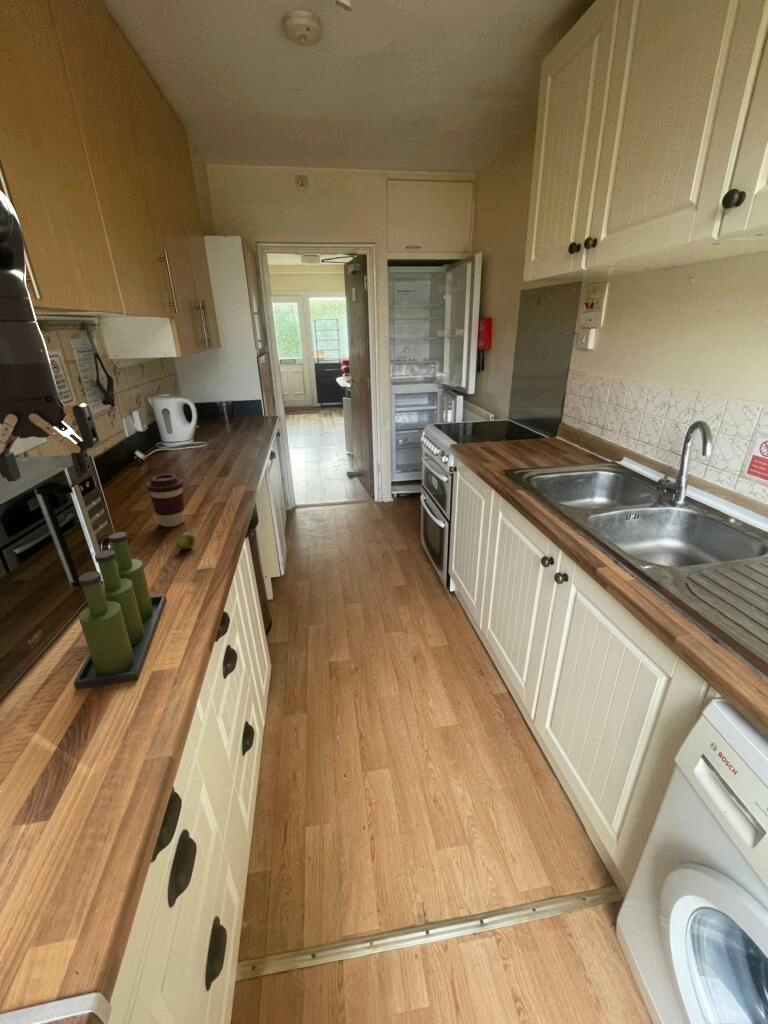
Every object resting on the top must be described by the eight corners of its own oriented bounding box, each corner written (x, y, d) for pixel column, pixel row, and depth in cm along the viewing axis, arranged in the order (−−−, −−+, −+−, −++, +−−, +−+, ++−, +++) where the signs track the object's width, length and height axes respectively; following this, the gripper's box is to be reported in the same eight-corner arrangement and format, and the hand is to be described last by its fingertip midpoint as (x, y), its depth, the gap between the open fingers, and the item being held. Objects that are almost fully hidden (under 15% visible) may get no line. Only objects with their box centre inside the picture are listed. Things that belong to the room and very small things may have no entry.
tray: (138, 682, 75) (136, 673, 74) (76, 692, 72) (73, 682, 71) (167, 602, 96) (165, 594, 95) (119, 608, 94) (117, 600, 93)
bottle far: (115, 618, 89) (92, 538, 82) (141, 603, 94) (121, 526, 87) (134, 627, 87) (112, 545, 79) (159, 611, 92) (141, 532, 84)
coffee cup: (173, 531, 129) (164, 484, 123) (147, 526, 131) (137, 480, 125) (196, 518, 137) (189, 474, 131) (171, 514, 140) (163, 470, 134)
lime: (177, 553, 116) (174, 537, 114) (181, 545, 121) (178, 529, 119) (194, 552, 117) (191, 536, 115) (198, 544, 122) (195, 528, 120)
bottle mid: (102, 643, 83) (76, 557, 75) (131, 625, 88) (109, 543, 80) (123, 652, 80) (98, 565, 73) (151, 634, 85) (131, 550, 78)
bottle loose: (88, 671, 76) (58, 580, 68) (120, 650, 81) (95, 563, 73) (110, 683, 74) (82, 590, 66) (142, 660, 79) (118, 572, 71)
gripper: (86, 357, 60) (112, 467, 67) (-36, 356, 57) (4, 472, 63) (64, 361, 53) (95, 483, 60) (-75, 360, 50) (-26, 490, 57)
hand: (49, 478), depth 62 cm, fingers open, 8 cm apart
